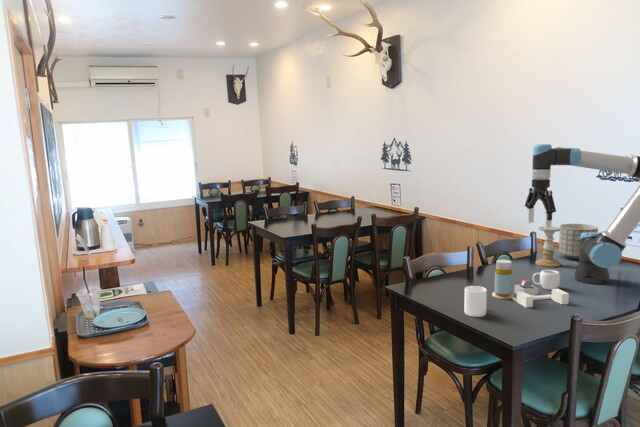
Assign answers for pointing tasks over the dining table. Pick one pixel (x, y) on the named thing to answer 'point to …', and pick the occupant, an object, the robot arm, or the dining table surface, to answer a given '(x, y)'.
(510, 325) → the dining table surface
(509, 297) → the pad
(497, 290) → the bottle
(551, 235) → the candle holder
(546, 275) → the mug
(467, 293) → the cup
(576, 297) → the dining table surface
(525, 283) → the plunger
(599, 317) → the dining table surface
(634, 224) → the robot arm
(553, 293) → the housing
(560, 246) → the planter
